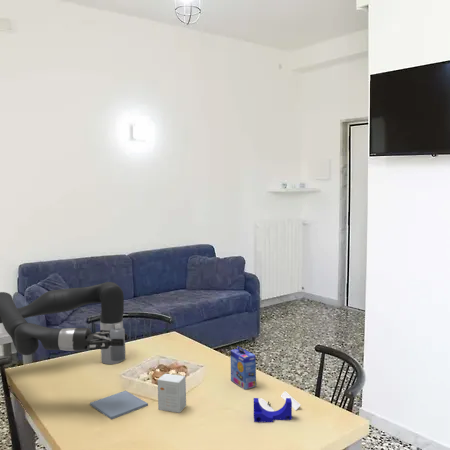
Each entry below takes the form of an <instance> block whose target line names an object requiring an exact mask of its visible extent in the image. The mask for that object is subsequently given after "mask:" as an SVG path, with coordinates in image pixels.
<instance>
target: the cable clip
mask: <svg viewBox="0 0 450 450" xmlns="http://www.w3.org/2000/svg"><path fill="white" fill-rule="evenodd" d="M258 398H259V397H253V423H274V421H292V419H293V417H292V416H293V415H292V412H293V410H292V409H293V408H292V401H291V398H286V401H284V402H285V403H284V404H283V406H282V407H281V408H279V409H278V410H275V411H267V410H265V409H263V408H262V407H261V405H260V404H259V400H258Z"/></svg>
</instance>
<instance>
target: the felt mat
mask: <svg viewBox="0 0 450 450" xmlns="http://www.w3.org/2000/svg"><path fill="white" fill-rule="evenodd" d="M89 406H91V407H92V408H93V409H95V410H97V411H98V412H100V414H103V415H104V416H105V417H106V418H109V419H110V420H115V419H117V418H118V417H119V418H120V417H122V416H124V415H127V414H129V413H132V412H134V411H137V410H139V409H143V408H145V407H148V406H149V403H148V402H146V401H145V400H143V399H141V398H139V397H138V396H136V395H134V394H132V393H131V392H129V391H127V390H122V391H121V392H120V391H119V392H117V393H115V394H111V395H108V396H105V397H103V398H99V399H97V400H94V401H91V402H90V403H89Z"/></svg>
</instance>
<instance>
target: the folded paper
mask: <svg viewBox="0 0 450 450" xmlns="http://www.w3.org/2000/svg"><path fill="white" fill-rule="evenodd" d="M280 397H281V398H282V399H283V400H284V402H286V398H291V401H292V409H293V410H294V411H297V410H298V409H299V408H300V407H301V406H302V404H300V402H299V401H297V400H296V399H295V398H294V397H293V396H291V394H289V393H288V392H287V391H286V390H284V391H283V392H282V393H281V395H280ZM257 398H258V400H259V404H260V405H261V407H262V408H263V409H265V410H267V411H276V410H275V409H274V408H273V407H272V406H271V405H272V404H271V403H270V401H268V402H267V401H266V400H265V399H264V398H261V397H260V398H259V397H257Z"/></svg>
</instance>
